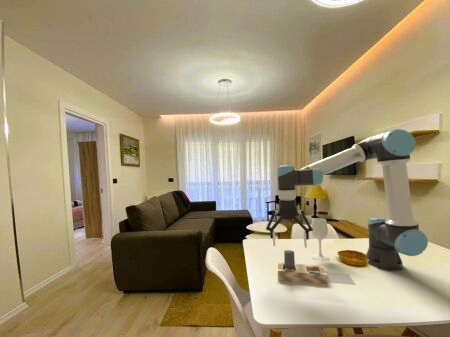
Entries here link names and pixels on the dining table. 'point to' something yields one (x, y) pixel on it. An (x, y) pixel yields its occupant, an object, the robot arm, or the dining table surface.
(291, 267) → the plug
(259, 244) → the dining table surface
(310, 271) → the socket block
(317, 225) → the wineglass
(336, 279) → the pad
